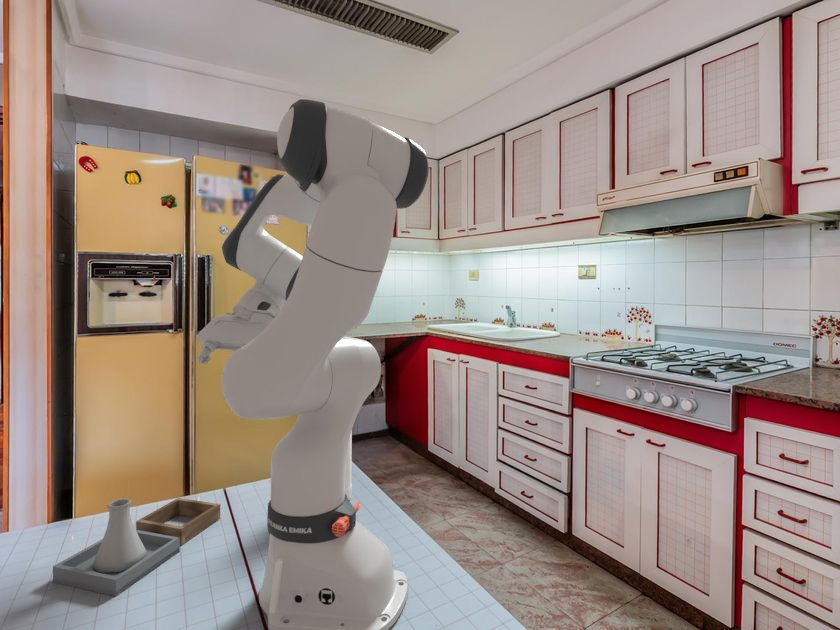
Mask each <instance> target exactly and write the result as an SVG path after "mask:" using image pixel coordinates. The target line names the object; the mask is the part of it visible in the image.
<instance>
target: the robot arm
mask: <svg viewBox="0 0 840 630" xmlns="http://www.w3.org/2000/svg"><path fill="white" fill-rule="evenodd" d="M278 126H279V127H278V129H277V135H276V136H277V137H276V145H277V152H278V160H279V162H280V163H281V166H282V168H284V170H285V172H286V173H287V174H278V173H277V174H276V175H274V176H273V177H272V178H270V179H269V180H268V181H267V182H266V183H265V184H264V185H263V186H262V187H261V189H260V190H259V192H258V193H257V194H256V195H255V196H254V199H252V201H251V203H250V204H249V206H248V207H247V209H246V210H245V212H244V213H243V214H242V217H240V220H239V221H238V222H237V224H236V226H234V227H233V229H231V230H230V231H229V233H228V234H227V236H226V237H225V238H224V240H223V243H222V246H221V249H222V250H221V251H222V254H223V258H224V261H225V262H226V264H227V265H229V266H231V267H233V268H235V269H237V270H238V271H241V272H243V273H244V274H246V275H248V276H250V277H251V278H252V279H254V280H255V283H254V285H253V286H252V287H251V288H249V289H248V290H247V291H246V292H245V293H244V294H243V295H242V296H241V298H240V299H239V300H238V301H237V302H236V304H235V305H234V306H233V307H232V312H226V313H225V314H219V315H217V316H215V317H214V318H212V319H211V320H210V321H209V322H208V323H207V324H206V325H205V326H204V327H203V328H202V329H201V330H200V331H199V332H198V334H197V337H196V339H197V341H198V342H199V343H200V344H201V345H202V346H201V351H200V353H199V355H198V356H197V357H196V361H197V363H199V364H201V365H206V364H208V362H210V360H211V359H212V358H211V357H210V356H211V353H214V352H215V350H221V351H229V352H232V353H230V354H231V355H230V356H229V357H228V359H227V361H225V364H224V366H223V368H222V372H221V376H220V377H221V378H220V379H221V380H220V389H221V394H222V396H223V399H224V401H225V403H226V405H227V406H228V408H229V409H230V411H232V412H233V413H234V414H235V415H236V416H238V417H239V418H242V419H244V420H249V419H250V420H277V419H282V418H287V417H291V416H296V415H298V416H297V418H296V421H295V423H294V425H293V426H292V427H291V428H290V430H289V431H288V432H287V433H286V435H284V436H283V437H282V438H281V439H280V440H279V441H278V442H277V444H276V445H275V446H274V448H273V450H272V453H271V457H270V500H269V501H268V504H267V515H266V517H267V520H266V521H267V523H266V527H267V531H268V532H267V533H268V535H269V539H268V540H269V541H268V550H267V551H268V553H267V559H266V565H265V566H266V567H265V570H264V575H263V576H264V577H263V580H262V584H261V587H260V591H259V594H258V602H259V604H260V608H261V609H262V610H263V612H264V613H265V614H266V616H267V627H268V630H390V629H391V628H392V626H394V624H395V623H396V621H397V620H398V618H399V617H400V615H401V613H402V611H403V609H404V607H405V604H406V602H407V598H408V594H409V585H408V579H407V576H406V574H405V572H403V571H400V570H397V569H394V564H393V558H392V554H391V551H390V549H389V547H388V545H387V544H385V542H383V541H381V540H380V539H379V538H378V537H376V536H375V534H373V533H372V532H371V531H370V530H369V529H368V528H366V527H365V526H363V525H362V524H361V523H360V522H359V521H358V520H356V519H357V515H356V514H357V513H358V511H359V510H360V503H361V501H360V500H358V501H357V502H356V503H355V504H354V505H353V504H352V503H351V502H350V500H348V497H347V495H346V494H345V470H346V453H347V446H348V441H349V437H350V434H351V431H352V430H353V427H354V424H355V422H356V419H357V416H358V414H359V413H360V410H361V408H362V406H363V405H364V402H365V401H366V400H367V399H368V397H369V396H370V395H371V394H372V392H374V390H375V389H376V388H377V386H378V385H379V382H380V380H381V375H382V364H381V358H380V356H379V353H378V351H377V349H376V348H375V347H374V345H373V344H371V342H369V341H367V340H364V339H363V338H358V337H357V338H356V337H352V336H346V335H347V334H348V333H350V332H351V331H353V330H354V329H357V327H359V326H360V325H361V324H362V323H363V321H365V320H366V318H367V317H368V315H369V313H370V310H371V307H372V304H373V301H374V298H375V294H376V292H377V290H378V286H379V284H380V282H381V281H380V280H381V277H382V275H383V272H384V268H385V266H386V262H387V260H388V256H389V252H390V248H391V245H392V244H391V243H392V239H393V235H394V229H395V223H396V217H397V210H398V209H400V210H401V209H407V208H409V207H411V206H412V205H413V204H414V203H416V202H417V201H418V200H419V198H420V197H421V195H422V193H423V191H424V189H425V187H426V184H427V181H428V178H429V170H430V169H429V168H430V167H429V160H428V157H427V156H428V155H427V153H426V151H425V149H423V148H422V147H421V146H420V145H419V144H417V143H416V142H415V141H414V140H412V139H410V138H409V137H402V136H400V135H398V134H397V133H395V132H394V131H391V130H390V129H387V128H385V127H384V126H381V125H379V124H377V123H374V122H373V121H370V119H369V118H367V117H364V116H361V115H358V114H356V113H353V112H349V111H347V110H343V109H340V108H335V107H332V106H327V105H326V103H325V102H323V101H318V100H314V99H305V98H303V99H298V100H297V101H295V102H294V103H292V104H291V105H290V107H289V109H288V111H287V112H286V113H284V116H283V117H282V119H281V121H280V123H279V125H278ZM272 216H275V217H281V218H284V219H287V220H291V221H292V222H295V223H298V224H300V225H301V224H302V225H304V226H310V227H311V228H310V230H309V234H308V237H307V239H306V244H305V247H304V250H303V254H300V253H299V252H297V251H295V250H294V249H292V247H289V246H288V245H286V244H285V243H283V242H281V241H280V240H278V239H277V238H275V237H274V236H272V235H271V234H270V233H269V232H267V231H266V229H265V228H264V225H266V223H267V221H269V219H270V217H272ZM352 432H353V431H352Z"/></svg>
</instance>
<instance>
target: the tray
mask: <svg viewBox="0 0 840 630" xmlns="http://www.w3.org/2000/svg"><path fill="white" fill-rule="evenodd" d="M135 530H136V529H135ZM136 532H137V534H138V536H139V538H140V540H141V542H142V543H143V545H144V547H145V549H146V551H147V554H146V555H145V556H144V557H143V558H142V560H141V561H139V562H138V563H136V564H135V565H133V566H131V567H129V568H127V569H125V570H123V571H121V572H106V573H100V572H99V571H97V570H95V569H94V568H92V565H93V563H94V560H95V558H96V555H97V553H98V550H99V548H100V546H101V543H102V540H103V538H102V539H100V540H98V541H96V542H94V543H93V544H91V545H88V546H87V547H86V548H84V549H82V550H80V551H78V552H77V553H75V554H72V555H71V556H69V557H67V558H65V559H64V560H62V561H60V562H58V563H56V564H55V565H53V566H52V582H53V583H56V584H60V585H64V586H70V587H74V588H77V589H82V590H86V591H91V592H95V593H100V594H104V595H108V596H113V597H118V596H119V595H120V594H121V593H123V592H125V591H126V590H128V589H129V588H130V587H131V586H133V585H135V584H136V583H137V582H138V581H140V580H142V579H143V578H144V577H145V576H146V577H147V575H148V574H150V573H151V572H153V571H154V570H156V569H157V568H159V567H160V566H161V565H162V564H164V563H166V562H168V560H170V559H171V558H172V557H174V556H176V555H177V554H178V553H180V548H181V547H180V546H181V545H180V538H179V537H173V536H168V535H162V534H157V533H151V532H145V531H140V530H136Z"/></svg>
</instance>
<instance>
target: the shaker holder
mask: <svg viewBox="0 0 840 630" xmlns="http://www.w3.org/2000/svg"><path fill="white" fill-rule="evenodd" d="M178 515H182V516H186V517H187V516H188V517H193V518H192V519H191V520H189V521H187V522H185V523H184V524H183V525H181V526H180V525H176V524H170V523H166V522H168V521H170V520H172V519H174V518H175V517H176V516H178ZM219 520H221V503H216V502H215V503H214V502H209V501H208V502H207V501H202V500H196V499H195V500H194V499H189V498H183V497H182V498H181V497H177V498H176V499H173V500H172V501H170V502H168V503H166V504H164V505H162V507H159V508H157V509H156V510H154V511H152V512H150V513H148V514H146V515H145V516H143V517H142V518H140V519H138V520H136V521H135V530H140V531H145V532H151V533H157V534H162V535H168V536H173V537H179V538H180V546H184V545H185V544H186V543H188V542H189V541H190V540H192V539H193V538H195V537H196V536H198V535H199V534H201V533H202V532H203V531H205V530H207V529H208V528H210V526H212V525H213V524H215V523H217V522H218V521H219Z"/></svg>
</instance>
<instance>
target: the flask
mask: <svg viewBox="0 0 840 630" xmlns="http://www.w3.org/2000/svg"><path fill="white" fill-rule="evenodd" d="M131 504H132V499H130V498H118V499H115V500H111V501H110V502H109V503H108V504H106V507H107V509H109V510H108V512H109V514H108V515H109V517H108V522H107V526H106V527H107V528H106V530H105V532H104V535H103V538H102V539H103V540H102V539H101V540H102V543H101V546H100V548H99V550H98V553H97V555H96V558H95V560H94V563H93V565H92V568H94V569H95V570H97V571H99V572H100V573H106V572H121V571H123V570H125V569H127V568H129V567H131V566H133V565H135V564H136V563H138V562H139V561H141V560H142V558H143V557H144V556H145V555H146V554H147V551H146V549H145V547H144V545H143V543H142V542H141V540H140V538H139V536H138V534H137V532H136V526H135V525H134V523H133V520H132V517H131V509H130V508H131V507H130V506H131Z"/></svg>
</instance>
